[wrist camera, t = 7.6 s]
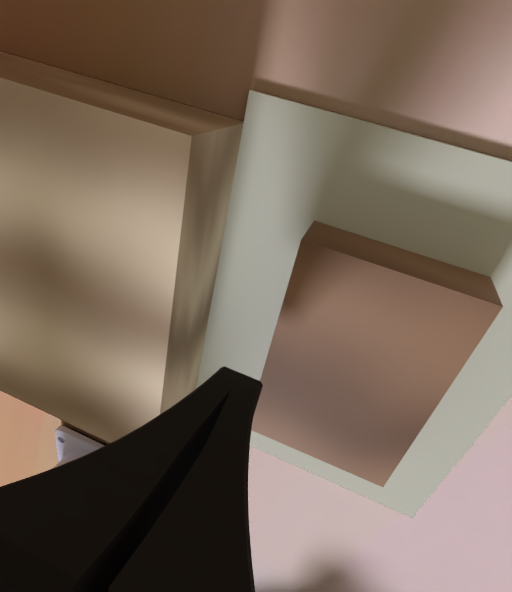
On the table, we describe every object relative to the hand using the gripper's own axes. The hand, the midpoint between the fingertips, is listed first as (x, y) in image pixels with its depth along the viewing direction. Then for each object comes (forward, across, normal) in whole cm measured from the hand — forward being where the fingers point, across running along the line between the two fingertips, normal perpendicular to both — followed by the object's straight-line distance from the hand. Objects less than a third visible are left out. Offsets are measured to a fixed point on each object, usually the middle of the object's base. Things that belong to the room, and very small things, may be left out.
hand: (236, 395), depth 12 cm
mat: (+5, -3, 0) cm, 6 cm away
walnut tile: (+3, -3, 0) cm, 4 cm away
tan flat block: (+5, +13, 0) cm, 14 cm away
